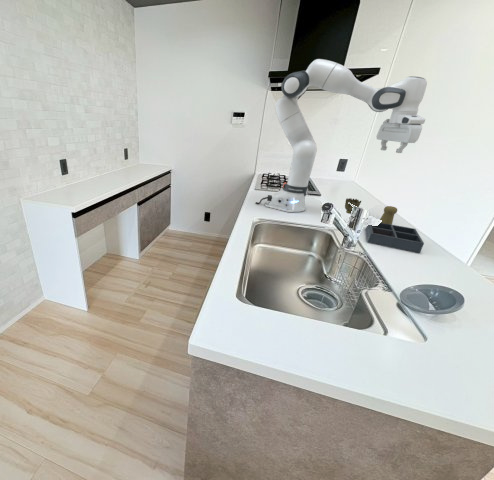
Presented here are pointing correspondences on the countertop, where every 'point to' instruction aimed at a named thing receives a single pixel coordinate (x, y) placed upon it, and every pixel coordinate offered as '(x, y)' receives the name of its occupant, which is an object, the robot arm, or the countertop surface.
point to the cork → (388, 214)
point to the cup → (348, 206)
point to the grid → (395, 237)
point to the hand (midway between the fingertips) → (390, 151)
